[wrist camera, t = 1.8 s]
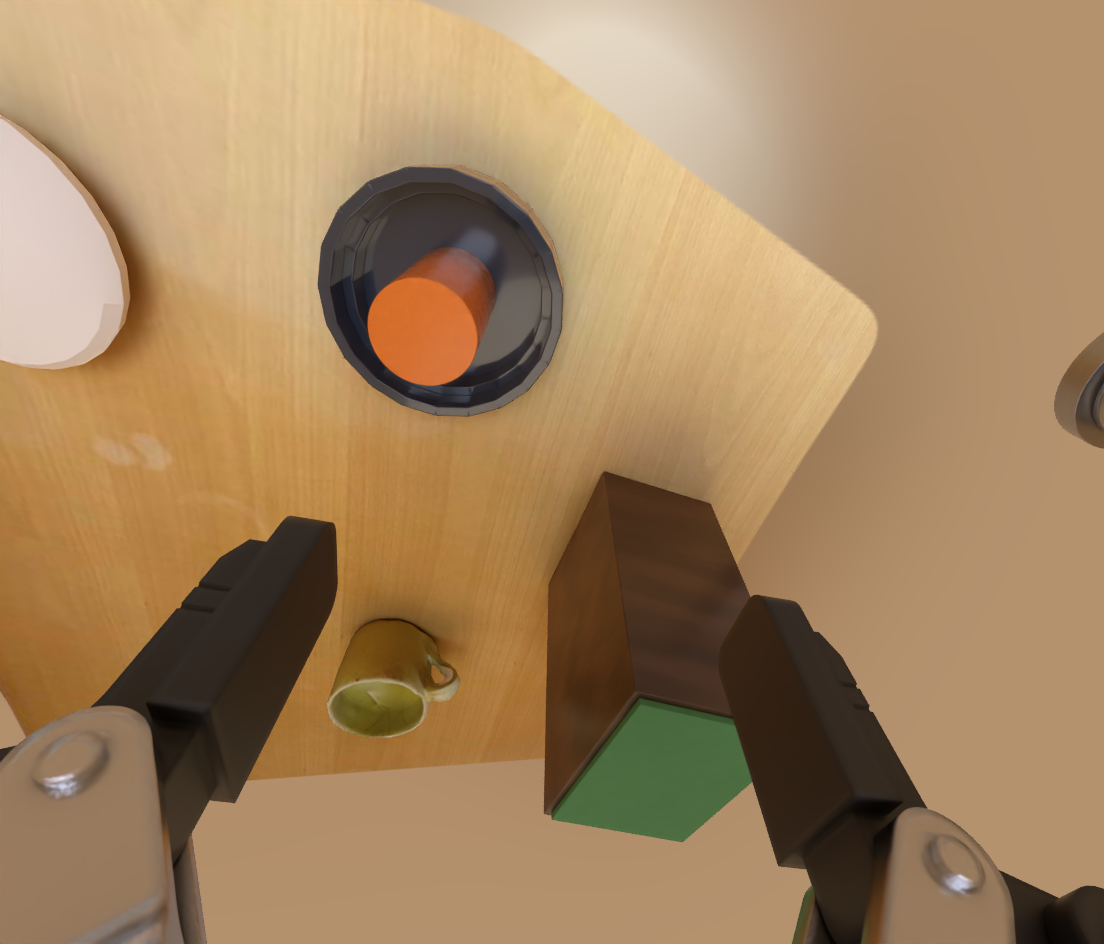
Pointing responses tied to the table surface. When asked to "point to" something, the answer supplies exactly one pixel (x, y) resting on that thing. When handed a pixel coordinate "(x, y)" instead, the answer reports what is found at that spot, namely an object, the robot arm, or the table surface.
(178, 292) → the table surface
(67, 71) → the table surface
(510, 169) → the table surface
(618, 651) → the stand
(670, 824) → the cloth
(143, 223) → the table surface
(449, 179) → the pot
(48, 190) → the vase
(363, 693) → the mug
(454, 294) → the orange can
